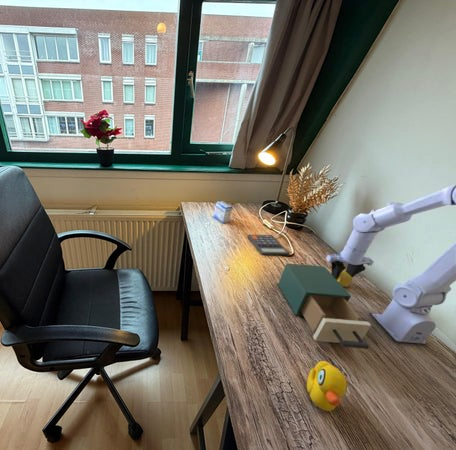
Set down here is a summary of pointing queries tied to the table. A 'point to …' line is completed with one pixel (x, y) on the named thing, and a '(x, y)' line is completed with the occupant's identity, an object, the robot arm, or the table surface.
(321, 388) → the duckling
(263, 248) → the calculator
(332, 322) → the drawer
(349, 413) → the table surface
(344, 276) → the block
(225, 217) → the medicine box
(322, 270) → the cabinet
